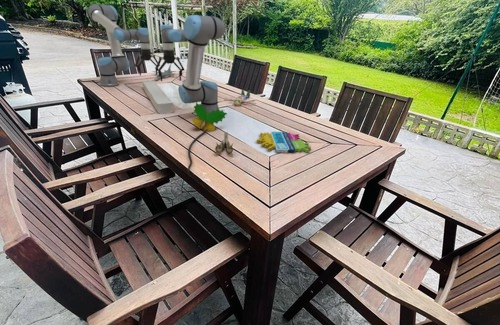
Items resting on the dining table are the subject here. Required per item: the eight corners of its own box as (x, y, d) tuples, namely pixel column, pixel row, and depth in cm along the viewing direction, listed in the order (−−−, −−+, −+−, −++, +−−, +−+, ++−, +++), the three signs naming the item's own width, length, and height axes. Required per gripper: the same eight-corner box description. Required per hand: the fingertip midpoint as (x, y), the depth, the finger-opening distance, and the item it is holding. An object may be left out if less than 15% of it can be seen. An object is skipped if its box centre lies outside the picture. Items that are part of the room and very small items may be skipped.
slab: (173, 112, 187) (172, 102, 184) (158, 113, 183) (157, 104, 179) (155, 87, 242) (154, 80, 239) (143, 88, 238) (142, 80, 234)
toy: (261, 91, 228) (254, 99, 202) (261, 99, 231) (253, 108, 205) (231, 87, 233) (220, 95, 207) (230, 95, 236) (219, 104, 210)
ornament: (218, 133, 171) (224, 110, 169) (221, 134, 163) (227, 111, 161) (186, 125, 162) (192, 101, 160) (189, 126, 155) (195, 101, 153)
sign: (313, 150, 142) (258, 149, 139) (312, 153, 143) (258, 152, 140) (301, 132, 164) (254, 130, 161) (301, 134, 165) (254, 133, 162)
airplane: (147, 74, 291) (145, 64, 286) (175, 72, 304) (174, 63, 299) (153, 82, 263) (151, 72, 257) (184, 80, 276) (183, 70, 271)
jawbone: (234, 135, 144) (233, 125, 135) (233, 160, 138) (232, 151, 129) (217, 135, 144) (216, 125, 135) (216, 160, 138) (214, 150, 129)
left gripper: (160, 48, 226) (162, 73, 236) (128, 47, 215) (132, 74, 225) (161, 49, 220) (164, 75, 230) (129, 49, 209) (133, 76, 220)
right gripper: (185, 49, 191) (187, 79, 202) (149, 48, 182) (153, 79, 193) (187, 50, 185) (188, 81, 196) (150, 49, 176) (153, 81, 187)
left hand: (148, 75), depth 228 cm, fingers open, 13 cm apart
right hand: (171, 80), depth 194 cm, fingers open, 13 cm apart
